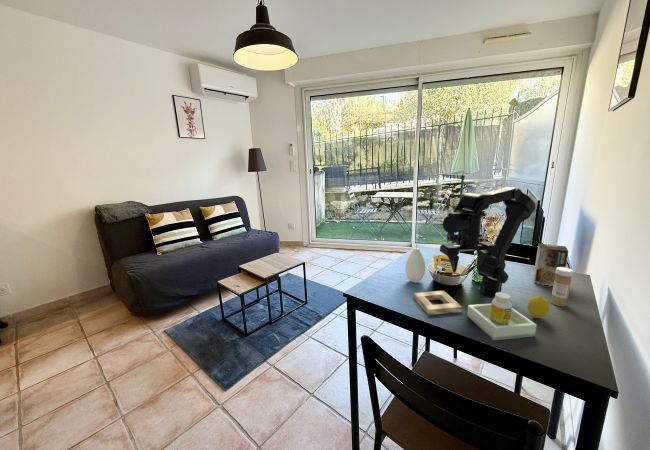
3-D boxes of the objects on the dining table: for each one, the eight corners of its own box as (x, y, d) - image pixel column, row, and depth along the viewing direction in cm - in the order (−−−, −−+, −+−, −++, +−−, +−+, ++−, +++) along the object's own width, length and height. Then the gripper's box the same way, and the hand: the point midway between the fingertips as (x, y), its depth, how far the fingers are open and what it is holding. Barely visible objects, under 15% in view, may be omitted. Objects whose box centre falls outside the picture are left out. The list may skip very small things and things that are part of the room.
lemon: (548, 324, 88) (552, 302, 86) (526, 319, 91) (530, 297, 89) (545, 316, 92) (550, 294, 90) (525, 311, 95) (529, 290, 93)
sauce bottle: (413, 276, 125) (416, 238, 120) (428, 283, 118) (430, 243, 114) (401, 280, 121) (403, 241, 117) (415, 287, 114) (417, 246, 110)
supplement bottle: (494, 316, 91) (498, 289, 89) (512, 323, 87) (516, 296, 85) (485, 321, 88) (489, 294, 86) (503, 329, 84) (508, 301, 82)
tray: (502, 312, 95) (504, 302, 94) (534, 336, 82) (536, 324, 81) (467, 315, 94) (468, 305, 93) (493, 340, 81) (495, 328, 80)
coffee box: (559, 282, 115) (566, 246, 111) (561, 289, 110) (569, 250, 106) (532, 278, 120) (538, 242, 116) (533, 284, 115) (539, 247, 111)
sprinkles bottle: (568, 304, 99) (575, 269, 96) (563, 308, 97) (570, 272, 93) (553, 299, 103) (559, 265, 99) (547, 302, 100) (554, 268, 97)
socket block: (443, 295, 108) (443, 290, 107) (461, 311, 96) (461, 306, 95) (413, 297, 106) (414, 292, 106) (428, 314, 95) (428, 309, 94)
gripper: (480, 223, 105) (476, 261, 109) (433, 225, 103) (431, 264, 107) (501, 230, 94) (496, 272, 98) (450, 233, 93) (446, 276, 96)
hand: (466, 271), depth 100 cm, fingers open, 9 cm apart
